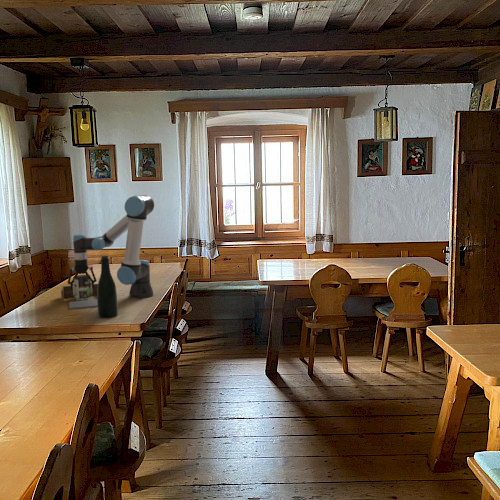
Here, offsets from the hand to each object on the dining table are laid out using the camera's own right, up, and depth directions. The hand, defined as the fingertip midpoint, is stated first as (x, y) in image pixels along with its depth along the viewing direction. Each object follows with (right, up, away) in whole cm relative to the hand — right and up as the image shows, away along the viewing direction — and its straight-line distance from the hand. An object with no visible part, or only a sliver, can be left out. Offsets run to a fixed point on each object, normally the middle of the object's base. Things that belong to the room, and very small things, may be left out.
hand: (82, 293), depth 320 cm
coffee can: (0, -3, 0) cm, 3 cm away
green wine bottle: (+28, -8, -43) cm, 52 cm away
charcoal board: (+7, -5, -18) cm, 20 cm away
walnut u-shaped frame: (0, -3, 0) cm, 3 cm away
